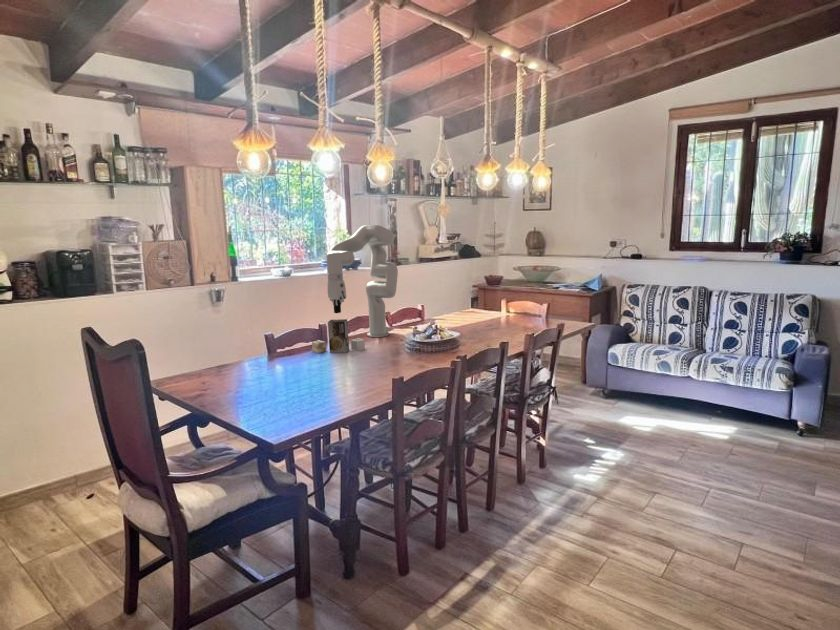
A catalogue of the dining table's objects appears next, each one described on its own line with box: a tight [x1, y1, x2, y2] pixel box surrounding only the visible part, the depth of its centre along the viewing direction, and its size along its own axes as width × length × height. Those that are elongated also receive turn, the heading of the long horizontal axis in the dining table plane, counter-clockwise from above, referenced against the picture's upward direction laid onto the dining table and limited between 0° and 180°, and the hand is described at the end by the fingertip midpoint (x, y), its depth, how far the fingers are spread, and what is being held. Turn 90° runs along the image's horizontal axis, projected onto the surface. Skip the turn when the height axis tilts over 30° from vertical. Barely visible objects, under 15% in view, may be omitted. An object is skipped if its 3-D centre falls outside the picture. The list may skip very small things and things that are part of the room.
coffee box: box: [327, 318, 350, 353], centre depth 274 cm, size 9×6×16 cm
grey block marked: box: [350, 337, 366, 351], centre depth 279 cm, size 5×5×5 cm
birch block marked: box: [311, 340, 327, 354], centre depth 276 cm, size 5×5×5 cm
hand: (337, 312), depth 272 cm, fingers closed
